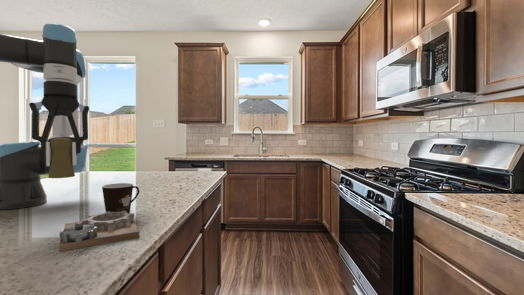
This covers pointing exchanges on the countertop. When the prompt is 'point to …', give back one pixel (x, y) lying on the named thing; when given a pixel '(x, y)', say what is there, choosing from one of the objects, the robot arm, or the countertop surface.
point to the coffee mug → (118, 197)
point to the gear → (78, 233)
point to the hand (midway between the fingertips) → (61, 165)
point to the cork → (61, 158)
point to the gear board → (105, 229)
